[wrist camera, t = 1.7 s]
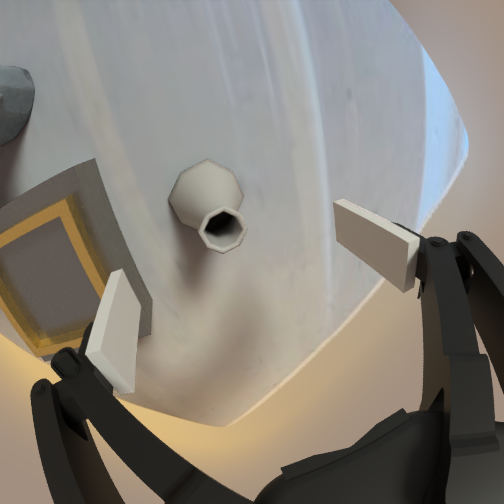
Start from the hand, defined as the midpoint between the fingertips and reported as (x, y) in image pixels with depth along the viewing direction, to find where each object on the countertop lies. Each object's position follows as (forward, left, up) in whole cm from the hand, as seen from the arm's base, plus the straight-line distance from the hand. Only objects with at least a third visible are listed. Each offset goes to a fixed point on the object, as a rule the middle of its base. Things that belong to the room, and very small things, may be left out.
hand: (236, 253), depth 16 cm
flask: (0, 0, -13) cm, 13 cm away
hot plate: (+2, -17, -13) cm, 22 cm away
